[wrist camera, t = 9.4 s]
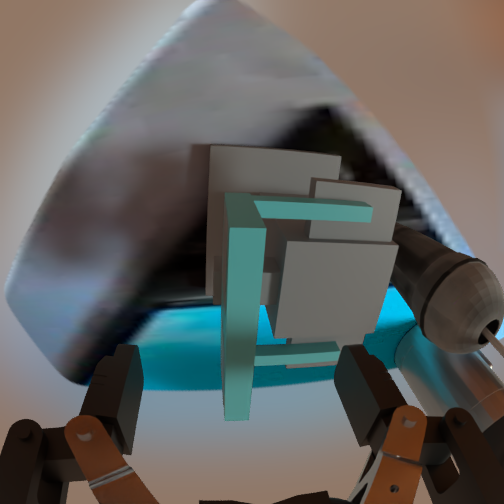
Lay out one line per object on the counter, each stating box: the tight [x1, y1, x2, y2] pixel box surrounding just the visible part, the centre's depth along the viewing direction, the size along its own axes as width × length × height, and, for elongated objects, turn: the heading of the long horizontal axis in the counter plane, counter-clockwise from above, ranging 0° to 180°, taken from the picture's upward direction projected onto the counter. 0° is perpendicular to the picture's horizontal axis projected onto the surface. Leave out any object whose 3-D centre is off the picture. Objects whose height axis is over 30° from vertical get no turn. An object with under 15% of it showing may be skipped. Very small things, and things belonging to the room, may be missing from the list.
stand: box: [206, 144, 402, 368], centre depth 23 cm, size 10×13×12 cm
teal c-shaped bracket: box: [221, 192, 373, 421], centre depth 15 cm, size 7×10×5 cm
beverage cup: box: [390, 223, 504, 357], centre depth 21 cm, size 7×7×20 cm
